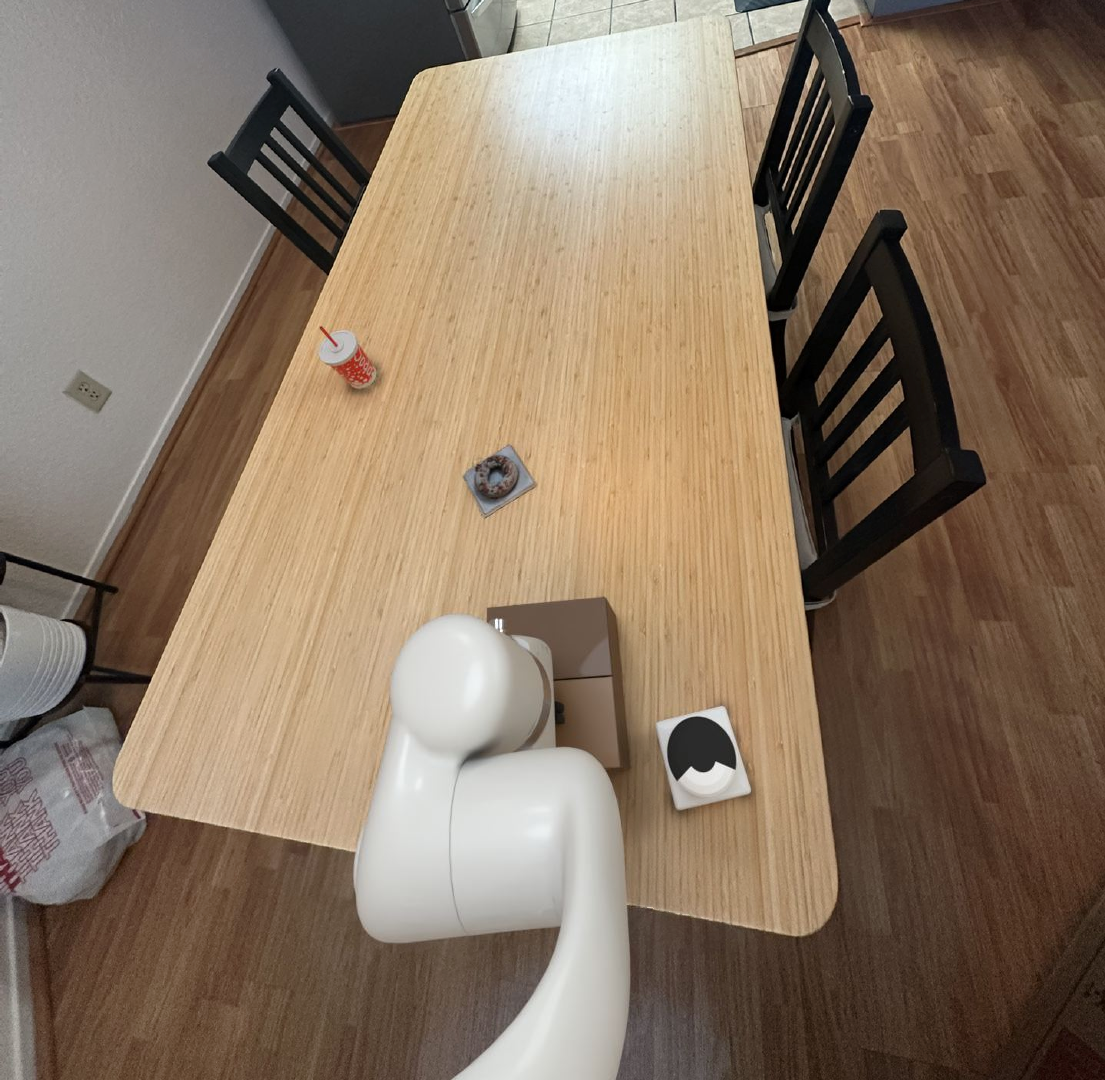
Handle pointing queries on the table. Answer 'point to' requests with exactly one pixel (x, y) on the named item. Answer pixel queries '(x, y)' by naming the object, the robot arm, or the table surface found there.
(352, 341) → the beverage cup
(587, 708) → the front flap
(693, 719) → the medicine bottle
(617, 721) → the carton
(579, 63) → the table surface
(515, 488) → the donut
